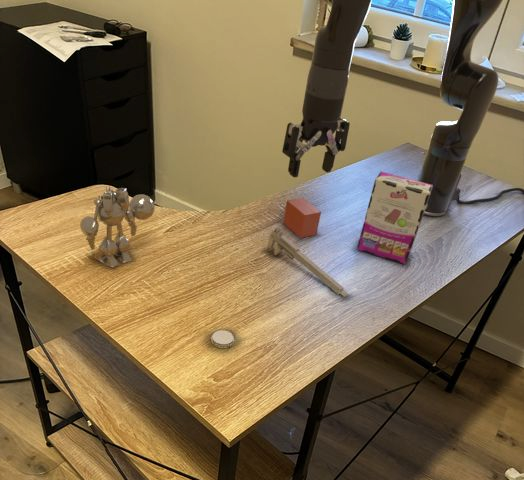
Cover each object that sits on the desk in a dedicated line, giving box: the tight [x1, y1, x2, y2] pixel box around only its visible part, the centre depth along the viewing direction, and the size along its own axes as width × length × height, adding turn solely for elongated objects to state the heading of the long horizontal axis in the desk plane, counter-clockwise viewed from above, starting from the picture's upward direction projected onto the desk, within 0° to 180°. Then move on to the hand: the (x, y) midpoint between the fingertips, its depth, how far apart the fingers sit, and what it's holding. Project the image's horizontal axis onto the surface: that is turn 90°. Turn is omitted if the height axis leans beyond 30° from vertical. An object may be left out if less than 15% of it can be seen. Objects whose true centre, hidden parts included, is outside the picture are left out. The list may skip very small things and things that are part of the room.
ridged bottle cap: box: [210, 329, 236, 349], centre depth 88 cm, size 4×4×1 cm
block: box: [283, 197, 322, 239], centre depth 117 cm, size 4×7×6 cm, turn 32°
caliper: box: [267, 226, 348, 298], centre depth 104 cm, size 20×1×6 cm, turn 47°
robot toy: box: [79, 185, 156, 268], centre depth 98 cm, size 15×6×15 cm, turn 134°
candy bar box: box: [356, 171, 433, 265], centre depth 110 cm, size 11×5×16 cm, turn 68°
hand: (310, 173), depth 110 cm, fingers open, 8 cm apart
